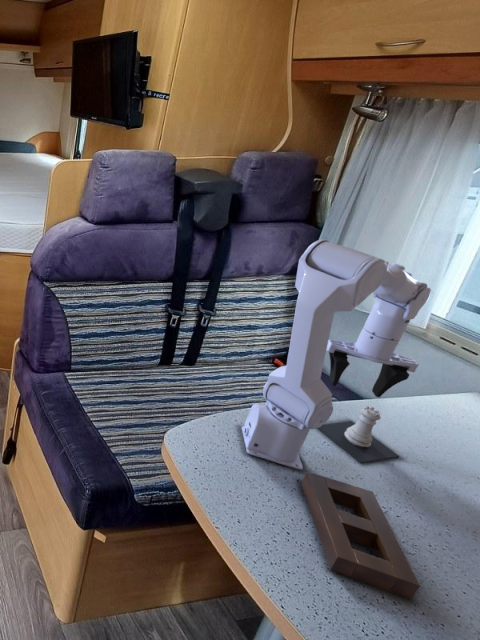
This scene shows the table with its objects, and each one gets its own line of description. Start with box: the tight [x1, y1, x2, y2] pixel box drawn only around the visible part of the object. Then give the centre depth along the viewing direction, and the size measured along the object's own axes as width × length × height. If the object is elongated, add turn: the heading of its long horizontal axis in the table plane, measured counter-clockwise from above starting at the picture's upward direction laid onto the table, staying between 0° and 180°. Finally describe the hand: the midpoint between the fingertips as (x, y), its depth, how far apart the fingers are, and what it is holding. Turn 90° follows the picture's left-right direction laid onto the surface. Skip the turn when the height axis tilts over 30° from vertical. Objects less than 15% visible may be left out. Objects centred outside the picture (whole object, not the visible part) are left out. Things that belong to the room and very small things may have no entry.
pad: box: [317, 420, 400, 464], centre depth 96 cm, size 10×10×1 cm
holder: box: [300, 471, 421, 600], centre depth 75 cm, size 10×17×3 cm, turn 158°
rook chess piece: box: [344, 405, 382, 447], centre depth 95 cm, size 4×4×8 cm
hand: (353, 388), depth 96 cm, fingers open, 7 cm apart
